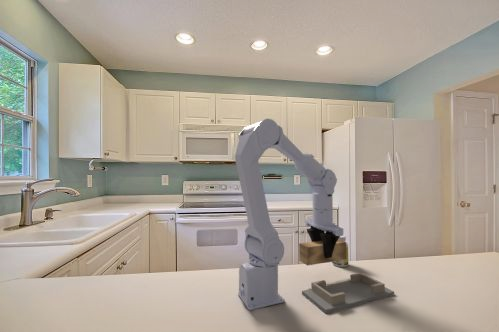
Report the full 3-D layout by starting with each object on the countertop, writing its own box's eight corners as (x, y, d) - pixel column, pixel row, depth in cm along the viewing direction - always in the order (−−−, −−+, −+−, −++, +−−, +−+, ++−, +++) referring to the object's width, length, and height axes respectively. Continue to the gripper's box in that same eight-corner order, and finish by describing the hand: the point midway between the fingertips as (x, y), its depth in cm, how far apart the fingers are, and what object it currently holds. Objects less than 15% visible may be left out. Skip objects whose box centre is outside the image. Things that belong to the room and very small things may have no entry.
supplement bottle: (345, 261, 81) (345, 234, 82) (350, 267, 76) (350, 238, 76) (329, 261, 82) (329, 233, 82) (334, 267, 76) (333, 237, 77)
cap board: (325, 313, 50) (325, 300, 51) (301, 294, 59) (301, 282, 59) (394, 294, 59) (394, 283, 59) (364, 280, 67) (364, 270, 67)
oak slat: (307, 265, 63) (307, 247, 64) (299, 260, 67) (299, 243, 67) (346, 259, 68) (346, 242, 69) (336, 254, 72) (336, 238, 72)
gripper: (351, 211, 63) (352, 261, 63) (317, 205, 77) (318, 246, 76) (331, 213, 61) (332, 265, 60) (300, 206, 74) (300, 248, 73)
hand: (322, 254), depth 68 cm, fingers closed on oak slat, 4 cm apart
